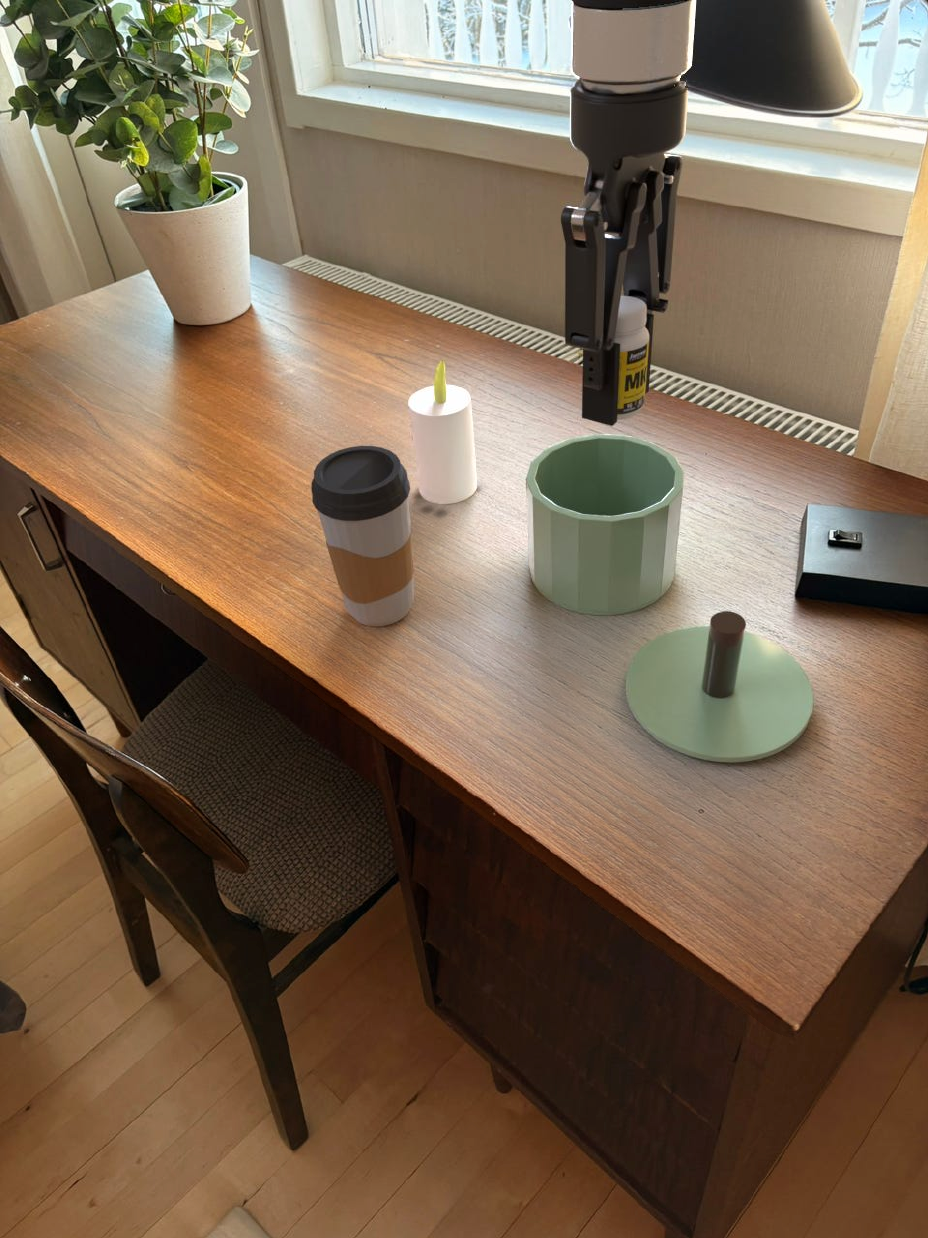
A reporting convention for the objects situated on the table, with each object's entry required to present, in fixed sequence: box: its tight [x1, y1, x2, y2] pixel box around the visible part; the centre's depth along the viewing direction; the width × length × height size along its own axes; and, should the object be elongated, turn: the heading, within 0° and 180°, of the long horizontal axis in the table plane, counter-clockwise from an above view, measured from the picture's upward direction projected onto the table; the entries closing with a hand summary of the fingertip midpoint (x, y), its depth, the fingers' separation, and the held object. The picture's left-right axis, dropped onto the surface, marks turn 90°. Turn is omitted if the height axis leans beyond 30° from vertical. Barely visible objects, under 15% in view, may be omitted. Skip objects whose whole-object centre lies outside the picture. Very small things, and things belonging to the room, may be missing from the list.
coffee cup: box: [310, 445, 415, 627], centre depth 83 cm, size 8×8×15 cm
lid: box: [625, 610, 814, 763], centre depth 74 cm, size 15×15×8 cm
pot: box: [525, 433, 685, 616], centre depth 86 cm, size 14×14×10 cm
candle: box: [407, 359, 478, 505], centre depth 97 cm, size 6×6×15 cm
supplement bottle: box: [614, 295, 649, 421], centre depth 73 cm, size 5×5×8 cm
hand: (615, 403), depth 76 cm, fingers closed on supplement bottle, 5 cm apart
